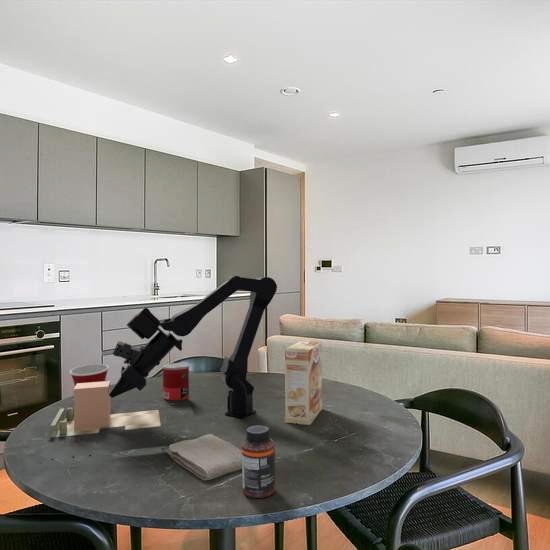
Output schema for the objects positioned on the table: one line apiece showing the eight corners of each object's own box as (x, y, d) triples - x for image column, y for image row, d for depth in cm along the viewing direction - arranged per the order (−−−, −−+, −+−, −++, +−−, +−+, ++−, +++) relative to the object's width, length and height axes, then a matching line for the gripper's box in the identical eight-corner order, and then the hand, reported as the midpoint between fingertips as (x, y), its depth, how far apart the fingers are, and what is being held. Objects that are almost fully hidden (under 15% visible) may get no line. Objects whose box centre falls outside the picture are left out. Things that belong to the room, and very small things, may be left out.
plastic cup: (61, 412, 128) (60, 370, 128) (85, 402, 138) (85, 363, 138) (94, 415, 125) (94, 372, 125) (117, 404, 136) (116, 364, 136)
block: (110, 418, 118) (109, 380, 118) (108, 426, 112) (108, 386, 112) (77, 422, 116) (76, 383, 116) (74, 429, 110) (73, 389, 110)
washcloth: (209, 442, 106) (209, 429, 106) (256, 467, 92) (256, 452, 92) (163, 456, 98) (162, 442, 98) (206, 485, 84) (206, 469, 84)
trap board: (158, 414, 126) (158, 399, 126) (160, 430, 112) (160, 414, 112) (60, 423, 118) (60, 407, 118) (50, 442, 105) (50, 424, 105)
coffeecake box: (310, 425, 115) (309, 349, 115) (284, 422, 118) (283, 348, 117) (323, 408, 129) (322, 341, 129) (299, 406, 132) (299, 340, 132)
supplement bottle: (257, 480, 85) (256, 420, 85) (282, 490, 81) (281, 427, 81) (235, 492, 80) (234, 429, 80) (260, 503, 76) (259, 437, 76)
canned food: (186, 404, 135) (186, 367, 135) (160, 404, 135) (159, 367, 135) (191, 397, 143) (191, 362, 143) (166, 397, 143) (166, 362, 143)
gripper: (132, 326, 126) (90, 368, 123) (131, 335, 108) (82, 384, 105) (161, 353, 128) (120, 395, 125) (165, 365, 110) (117, 415, 107)
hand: (110, 396), depth 115 cm, fingers closed, pressing on block
